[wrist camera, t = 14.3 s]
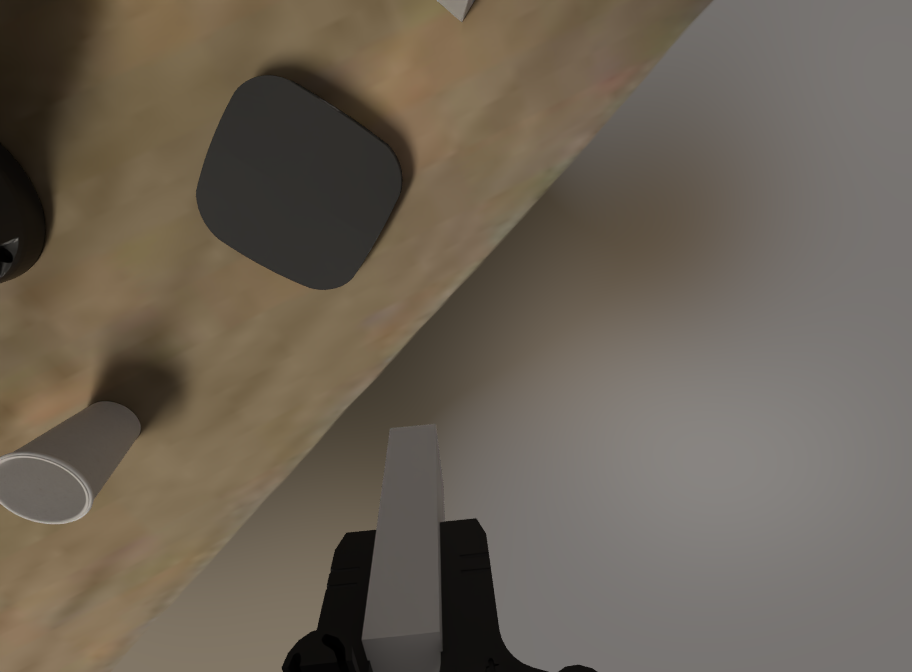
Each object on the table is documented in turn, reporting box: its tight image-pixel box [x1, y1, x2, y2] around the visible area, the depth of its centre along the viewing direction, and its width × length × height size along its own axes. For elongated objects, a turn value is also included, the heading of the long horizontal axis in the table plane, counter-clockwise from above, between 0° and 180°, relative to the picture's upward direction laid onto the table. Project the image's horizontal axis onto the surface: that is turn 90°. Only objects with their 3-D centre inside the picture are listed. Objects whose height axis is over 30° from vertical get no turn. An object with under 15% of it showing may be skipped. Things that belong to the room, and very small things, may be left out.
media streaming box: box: [196, 75, 402, 290], centre depth 38 cm, size 15×15×3 cm
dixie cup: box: [0, 401, 141, 524], centre depth 43 cm, size 8×8×10 cm
